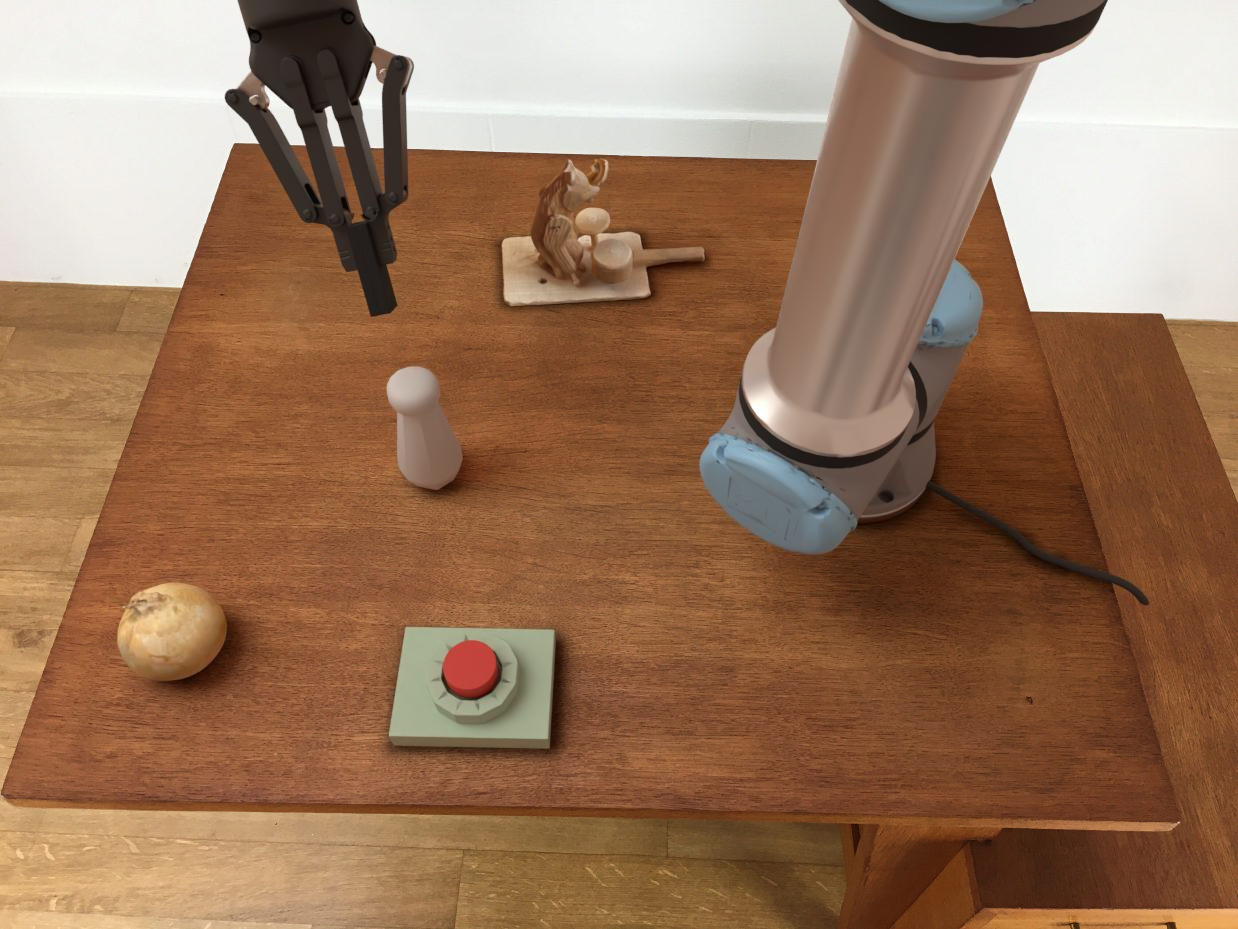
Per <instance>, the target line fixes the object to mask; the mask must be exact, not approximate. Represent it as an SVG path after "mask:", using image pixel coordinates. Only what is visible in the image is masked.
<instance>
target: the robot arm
mask: <svg viewBox="0 0 1238 929" xmlns="http://www.w3.org/2000/svg"><path fill="white" fill-rule="evenodd" d="M1108 1H1109V0H838V2H839V3H840V5H841V6H842V7H843V8H844V9H845V11H846V12H847V13H848V15H849V16H850V17H851V22H850V26H849V29H848V33H847V36H846V37H847V38H846V42H845V46H844V50H843V54H842V58H841V62H840V66H839V70H838V74H837V78H836V82H835V86H834V91H833V94H832V98H831V103H830V107H829V110H828V115H827V119H826V123H825V127H824V131H823V136H822V140H821V143H820V146H819V147H820V148H819V150H818V151H819V152H818V156H817V159H816V162H815V163H816V164H815V169H814V171H813V176H812V180H811V183H810V188H809V192H808V196H807V200H806V203H805V204H806V205H805V207H804V212H803V216H802V221H801V224H800V229H799V233H798V237H797V241H796V243H795V244H796V245H795V249H794V252H793V257H792V261H791V265H790V268H789V274H788V276H787V281H786V285H785V290H784V293H783V297H782V302H781V306H780V309H779V312H778V313H779V314H778V317H777V322H776V326H775V327H774V328H772V329H769V331H767V332H765V333H764V334H762V336H760V337H759V338H758V339H757V340H756V341H755V343H754V344H753V345H752V346H751V348H750V349H749V351H748V353H747V355H746V358H745V361H744V363H743V366H742V371H741V375H740V379H739V383H738V387H737V392H736V397H735V401H734V405H733V408H732V411H731V413H730V414H729V416H728V418H727V419H726V421H725V422H724V424H723V425H722V426H721V428H720V429H719V430H718V432H716V433H713V434H712V436H710V437H709V438H708V444H707V446H706V447H705V449H704V450H703V451H702V453H701V456H700V458H699V473H700V475H701V480H702V482H703V484H704V487H705V488H706V490H707V492H708V493H709V495H710V496H711V498H712V499H713V500H714V502H716V503H717V504H718V505H719V506H720V508H721V509H722V510H723V511H724V512H725V513H726V514H727V515H728V516H729V517H730V518H731V519H732V520H733V521H735V522H736V523H737V524H738V525H740V526H741V527H743V528H744V529H745V530H747V531H748V532H750V533H751V534H753V535H755V536H756V537H758V538H759V539H761V540H763V541H765V542H767V543H769V544H771V545H773V546H775V547H777V548H780V549H783V550H786V551H789V552H793V553H800V554H804V555H811V556H812V555H813V556H814V555H815V556H816V555H822V554H823V555H824V554H826V553H829V552H832V551H834V550H835V549H836V548H838V546H839V547H840V545H841V543H842V542H843V541H844V540H845V538H846V537H847V536H848V535H849V533H850V532H853V531H854V530H856V528H857V525H858V524H871V523H878V522H882V521H883V522H884V521H886V520H889V519H892V518H895V517H897V516H899V515H901V514H903V513H904V512H906V511H907V510H910V508H912V507H913V506H914V505H915V504H916V503H917V502H919V500H920V499H921V497H922V496H923V494H924V493H925V491H926V489H927V490H929V491H930V492H933V493H935V494H936V495H938V496H940V497H942V498H944V499H945V500H946V501H949V502H951V503H952V504H954V505H956V506H958V507H959V508H961V509H963V510H965V511H966V512H968V513H969V514H972V515H973V516H975V517H977V518H979V519H981V520H983V521H984V522H987V523H989V524H990V525H992V526H994V527H995V528H996V529H999V530H1000V531H1002V532H1004V533H1005V534H1006V535H1008V536H1009V537H1011V538H1012V539H1013V540H1015V542H1016V543H1017V544H1019V545H1020V546H1021V547H1022V548H1023V549H1025V550H1026V551H1027V552H1028V553H1030V554H1031V555H1033V556H1034V557H1036V558H1038V559H1040V560H1042V561H1045V562H1047V563H1050V564H1052V565H1055V566H1058V567H1061V568H1064V569H1066V570H1069V571H1071V572H1075V573H1078V574H1081V575H1084V576H1086V577H1090V578H1094V579H1097V580H1100V581H1104V582H1107V583H1111V584H1113V585H1116V586H1118V587H1120V588H1122V589H1124V590H1126V591H1127V592H1129V593H1130V594H1131V595H1133V596H1134V597H1135V599H1136V600H1137V601H1138V602H1139V604H1141V605H1143V606H1149V605H1150V601H1149V599H1148V598H1147V595H1145V593H1144V592H1143V591H1142V590H1141V589H1140V588H1138V587H1137V586H1136V585H1135V584H1133V583H1132V582H1130V581H1129V580H1127V579H1124V578H1122V577H1120V576H1117V575H1114V574H1111V573H1109V572H1106V571H1102V570H1099V569H1094V568H1091V567H1088V566H1084V565H1081V564H1078V563H1076V562H1074V561H1071V560H1068V559H1065V558H1063V557H1060V556H1057V555H1053V554H1052V553H1049V552H1047V551H1044V550H1043V549H1040V548H1038V547H1037V546H1036V545H1034V544H1032V542H1030V541H1029V540H1028V539H1027V538H1025V537H1024V535H1023V534H1021V533H1020V532H1019V531H1017V530H1016V529H1015V528H1014V527H1012V526H1011V525H1009V524H1008V523H1006V522H1004V521H1002V520H1001V519H1000V518H997V517H995V516H994V515H992V514H990V513H989V512H987V511H985V510H983V509H981V508H979V507H977V506H975V505H973V504H972V503H970V502H968V501H966V500H965V499H963V498H961V497H959V496H957V495H956V494H954V493H952V492H951V491H949V490H947V489H945V488H943V487H942V486H940V485H938V484H936V483H934V482H933V481H931V479H932V476H933V474H934V469H935V464H936V458H937V447H936V432H935V430H936V429H935V419H936V417H937V415H938V413H939V411H940V410H941V406H942V405H943V401H944V400H945V398H946V395H947V393H948V391H949V389H950V386H951V385H952V383H953V380H954V378H955V376H956V373H957V371H958V369H959V366H960V365H961V362H962V359H963V357H964V355H965V353H966V352H967V349H968V347H969V344H970V343H971V342H972V341H973V339H975V337H976V336H977V334H978V332H979V322H980V320H981V316H982V313H983V309H984V299H983V294H982V290H981V287H980V286H979V284H978V282H977V281H976V280H975V279H973V278H972V274H971V272H970V271H969V270H968V269H967V268H966V267H965V266H964V265H963V264H962V263H960V262H959V261H958V260H956V257H957V254H958V252H959V251H960V250H959V249H960V247H961V245H962V244H963V241H964V238H965V236H966V234H967V232H968V229H969V227H970V224H971V222H972V220H973V217H974V216H975V213H976V210H977V209H978V206H979V204H980V201H981V199H982V197H983V194H984V192H985V191H986V187H987V186H988V183H989V180H990V178H991V176H992V174H993V171H994V170H995V167H996V165H997V162H998V161H999V158H1000V155H1001V153H1002V151H1003V148H1004V147H1005V144H1006V142H1007V139H1008V137H1009V135H1010V132H1011V131H1012V127H1013V125H1014V123H1015V122H1016V118H1017V117H1018V114H1019V111H1020V110H1021V107H1022V105H1023V103H1024V101H1025V98H1026V96H1027V93H1028V91H1029V89H1030V86H1031V83H1032V81H1033V80H1034V77H1035V75H1036V73H1037V70H1038V68H1039V66H1040V63H1043V62H1046V61H1049V60H1051V59H1054V58H1056V57H1060V56H1062V55H1064V54H1066V53H1067V52H1070V51H1071V50H1073V49H1075V48H1077V47H1078V46H1080V45H1081V44H1082V43H1084V42H1085V41H1086V40H1087V39H1088V38H1089V36H1091V34H1092V33H1093V31H1094V29H1095V28H1096V26H1097V24H1098V22H1099V21H1100V19H1101V17H1102V14H1103V12H1104V10H1105V8H1106V6H1107V3H1108ZM237 4H238V7H239V11H240V14H241V18H242V21H243V25H244V27H245V31H246V34H247V36H248V39H249V40H248V41H249V45H250V46H249V47H250V48H249V55H248V66H249V69H250V71H249V73H248V74H247V75H246V76H245V77H244V78H243V80H242V81H241V82H240V83H239V84H238V85H237V86H236V88H229V89H228V90H226V91H225V93H224V101H225V103H226V104H227V106H228V107H229V108H230V109H232V110H233V111H234V113H236V114H237V115H238V116H239V117H240V118H241V119H242V120H243V121H244V122H245V123H246V124H247V125H248V126H249V129H250V131H251V132H252V134H253V136H254V137H255V140H256V141H257V143H258V145H259V146H260V149H261V150H262V152H263V154H264V156H265V157H266V159H267V161H268V162H269V165H270V166H271V168H272V170H273V171H274V173H275V175H276V177H277V179H278V181H279V183H280V184H281V186H282V188H283V189H284V191H285V193H286V195H287V197H288V199H289V200H290V202H291V204H292V205H293V208H294V209H295V211H296V213H297V214H298V217H299V218H300V219H301V221H302V222H304V223H305V224H318V225H322V226H326V227H327V228H329V230H330V231H331V233H332V236H333V240H334V242H335V246H336V249H337V253H338V256H339V259H340V264H341V266H342V268H343V269H344V271H345V272H346V273H350V272H356V271H357V274H358V276H359V277H358V278H359V280H360V284H361V287H362V291H363V294H364V298H365V301H366V305H367V309H368V312H369V315H370V318H373V317H379V316H383V315H388V314H389V315H390V314H391V313H392V312H394V311H395V309H396V308H397V307H398V302H397V298H396V294H395V292H394V287H393V284H392V280H391V276H390V273H389V269H388V265H390V264H391V265H392V264H394V263H395V262H397V259H398V251H397V247H396V243H395V240H394V235H393V232H392V227H391V225H390V221H389V220H390V219H389V216H390V213H391V212H392V211H393V210H394V209H395V208H397V207H399V206H401V205H402V204H403V203H405V202H406V201H407V200H408V199H409V167H408V166H409V164H408V163H409V159H408V158H409V157H408V122H407V121H408V120H407V91H408V89H409V85H410V83H411V80H412V75H413V73H414V70H415V64H414V61H413V60H412V59H411V58H410V57H409V56H405V55H401V54H395V53H394V52H391V51H389V50H387V49H385V48H382V47H380V46H377V42H376V39H375V36H374V35H373V34H372V33H371V32H370V30H368V28H367V26H366V25H365V23H364V21H363V18H362V15H361V10H360V6H359V3H358V0H237ZM373 64H374V66H375V76H376V79H377V82H379V83H380V84H382V90H381V116H382V117H381V118H382V145H383V147H382V148H383V150H382V151H383V176H384V179H383V180H384V192H383V189H382V184H381V181H380V178H379V174H378V169H377V167H376V166H377V165H376V162H375V159H374V155H373V151H372V148H371V144H370V140H369V136H368V133H367V129H366V126H365V122H364V114H363V112H364V111H363V108H362V104H361V101H360V97H361V95H362V93H363V90H364V87H365V84H366V82H367V80H368V76H369V75H370V74H369V73H370V71H371V69H372V66H373ZM266 88H268V89H269V90H270V91H271V92H272V93H273V94H274V95H275V96H277V97H278V98H279V99H280V100H281V101H282V102H283V103H284V104H285V105H287V107H288V108H290V109H291V110H293V114H294V118H295V121H296V124H297V126H298V128H299V129H300V131H301V134H302V138H303V142H304V146H305V148H306V153H307V154H308V159H309V162H310V166H311V169H312V172H313V176H314V180H315V183H316V187H317V190H318V193H319V195H318V193H317V191H316V189H315V188H314V186H313V184H312V182H311V180H310V177H309V176H308V175H307V173H306V171H305V169H304V168H303V165H302V164H301V162H300V160H299V158H298V157H297V154H296V152H295V151H294V149H293V147H292V145H291V144H290V142H289V140H288V138H287V136H286V135H285V132H284V131H283V129H282V127H281V125H280V123H279V121H278V120H277V118H276V117H275V115H274V114H273V113H272V111H271V110H270V109H269V107H270V103H271V102H270V100H271V99H270V97H269V95H268V94H267V92H266ZM329 107H331V110H332V114H333V117H334V120H335V121H336V122H337V126H338V130H339V132H340V136H341V139H342V143H343V147H344V150H345V154H346V158H347V161H348V164H349V169H350V172H351V176H352V179H353V182H354V187H355V189H356V190H355V191H356V194H357V197H358V201H359V205H360V207H361V211H362V213H361V214H360V216H361V218H362V220H361V221H355V222H353V220H354V217H355V212H352V210H351V206H350V202H349V198H348V195H347V191H346V188H345V184H344V181H343V177H342V173H341V169H340V166H339V162H338V159H337V155H336V152H335V148H334V144H333V142H332V137H331V134H330V130H329V126H328V123H329V122H328V117H327V112H326V109H327V108H329Z"/></svg>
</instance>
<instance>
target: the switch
mask: <svg viewBox="0 0 1238 929" xmlns="http://www.w3.org/2000/svg"><path fill="white" fill-rule="evenodd" d="M443 672H444V675H445V678H446V681H447V684H448V686H449V688H450V689H451V690H452V691H453V692H454V693H455V694H456V695H458V696H460V697H464V698H477V697H480V696H482V695H484V694H486V693H487V692H489V691H490V690H491V689H492V688H493V686H494V685H495V683H496V681H497V678H498V665H497V660H496V656H495V654H494V652H493V650H492V649H491V648H490V647H489V646H488V645H486V644H485V643H483V642H480V641H476V640H468V641H463V642H461V643H458V644H457V645H455V646H454V647H452V648H451V649H450V651H449V652H448V653H447V655H446V657H445V659H444V663H443Z"/></svg>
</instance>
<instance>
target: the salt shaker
mask: <svg viewBox="0 0 1238 929" xmlns="http://www.w3.org/2000/svg"><path fill="white" fill-rule="evenodd" d="M441 394H442V393H441V388H440V382H439V379H438V378H437V376H436V375H435V373H434V372H432V371H431V370H430V369H428V368H426V367H423V366H414V365H413V366H406V367H404V368H400V369H398V370H397V371H396V372H395V373H393V374H392V375H391V376H390V377H389V379H388V382H387V384H386V395H387V400H388V403H389V405H390V406H391V407H392V408H393V409H394V410H395V412H396V441H397V442H396V458H397V465H398V469H399V471H400V473H401V474H402V475H403V477H405V479H406V480H407V481H408V482H409V483H411V484H412V485H414V486H416V487H418V488H422V489H428V490H434V491H438V490H440V489H442V488H443V487H445V486H446V485H448V484H450V483H452V482H453V481H455V479H456V478H457V475H458V473H459V471H460V468H461V465H462V462H463V458H464V456H463V451H462V446H461V443H460V441H459V440H458V438H457V435H456V433H455V432H454V429H453V428H452V426H451V424H450V422H449V420H448V418H447V417H446V415H445V413H444V411H443V409H442V406H441V405H440V403H439V401H440V398H441Z"/></svg>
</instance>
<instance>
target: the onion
mask: <svg viewBox="0 0 1238 929" xmlns="http://www.w3.org/2000/svg"><path fill="white" fill-rule="evenodd" d="M121 608H122V609H124V613H123V614H122V616H121V619H120V621H119V623H118V628H117V634H116V635H117V636H116V640H117V647H118V651H119V654H120V655H121V657H122V659H123V661H124V663H125V664H126V665H127V667H128V668H129V669H130V670H131V671H132V672H134V673H135V674H136V675H137V676H139V677H142V678H145V679H148V680H152V681H159V682H170V681H178V680H179V681H180V680H184V679H185V678H189V677H191V676H193V675H196V674H197V673H198V674H199V673H200V672H201V671H203V670H204V669H206V668H207V667H208V665H210V664H211V663H212V662H213V661H214V659H215V658H216V657H217V656H218V654H219V653H220V651H221V650H222V647H223V645H224V644H225V641H226V637H227V633H228V632H227V631H228V623H227V619H226V614H225V612H224V610H223V608H222V606H221V604H220V603H219V601H218V600H217V599H216V597H214V596H213V595H212V594H211V593H209V591H207V590H205V589H204V588H202V587H199V586H197V585H193V584H189V583H184V582H166V583H161V584H158V585H154V586H152V587H148V588H146V589H144V590H141V591H138V592H137V593H135V594H134V595H132V597H131V598H130V600H129V601H128V604H127V605H122V607H121Z"/></svg>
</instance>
